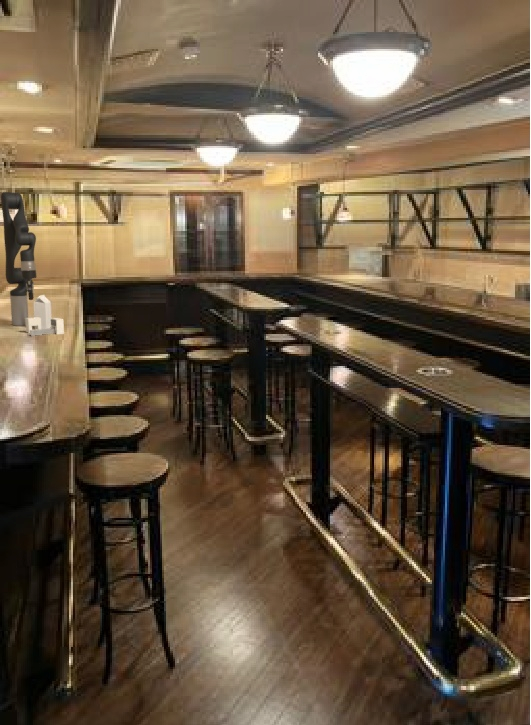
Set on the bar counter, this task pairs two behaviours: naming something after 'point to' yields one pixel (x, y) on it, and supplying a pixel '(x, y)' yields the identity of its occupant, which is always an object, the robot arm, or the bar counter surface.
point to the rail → (42, 331)
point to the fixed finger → (57, 325)
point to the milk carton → (43, 311)
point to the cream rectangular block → (32, 323)
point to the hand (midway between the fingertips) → (31, 299)
